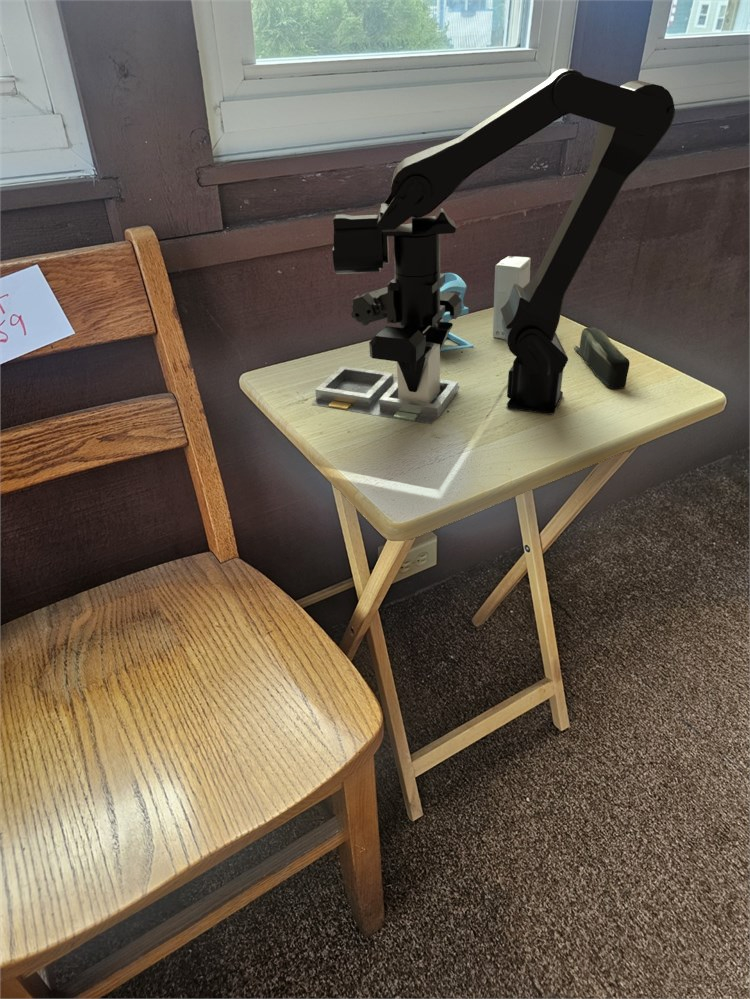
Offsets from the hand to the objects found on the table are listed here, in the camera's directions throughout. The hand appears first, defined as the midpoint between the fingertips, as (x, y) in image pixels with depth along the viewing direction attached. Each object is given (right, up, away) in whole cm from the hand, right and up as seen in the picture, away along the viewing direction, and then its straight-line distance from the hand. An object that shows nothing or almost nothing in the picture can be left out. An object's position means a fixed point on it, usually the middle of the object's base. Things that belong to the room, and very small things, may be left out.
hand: (419, 383), depth 93 cm
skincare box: (+17, +12, +22) cm, 31 cm away
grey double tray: (-4, -2, +4) cm, 6 cm away
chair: (+5, +9, +18) cm, 21 cm away
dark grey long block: (+28, +4, +9) cm, 29 cm away
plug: (0, -1, +1) cm, 2 cm away
